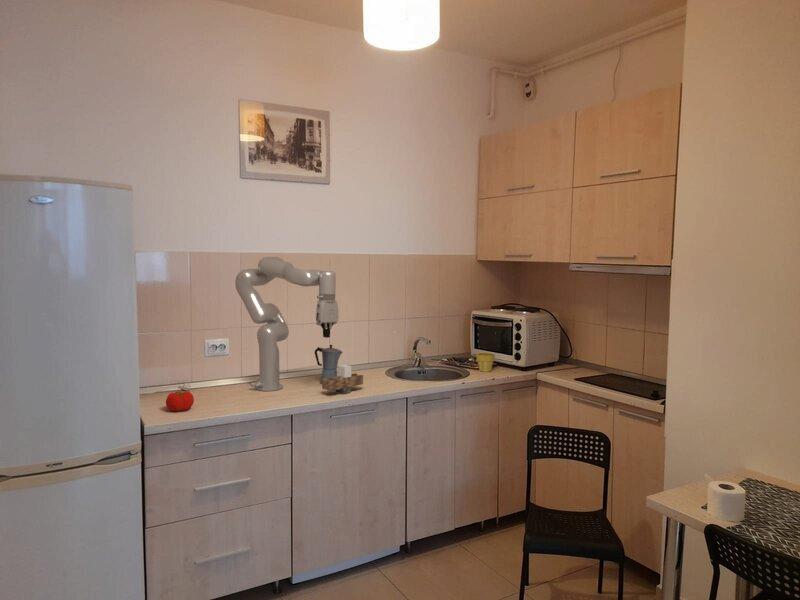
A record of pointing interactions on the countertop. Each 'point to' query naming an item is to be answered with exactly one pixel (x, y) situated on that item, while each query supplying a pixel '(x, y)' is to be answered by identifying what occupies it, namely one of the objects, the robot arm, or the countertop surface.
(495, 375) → the countertop surface
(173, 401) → the tomato
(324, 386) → the beam
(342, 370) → the white block
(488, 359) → the plant pot
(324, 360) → the moka pot
